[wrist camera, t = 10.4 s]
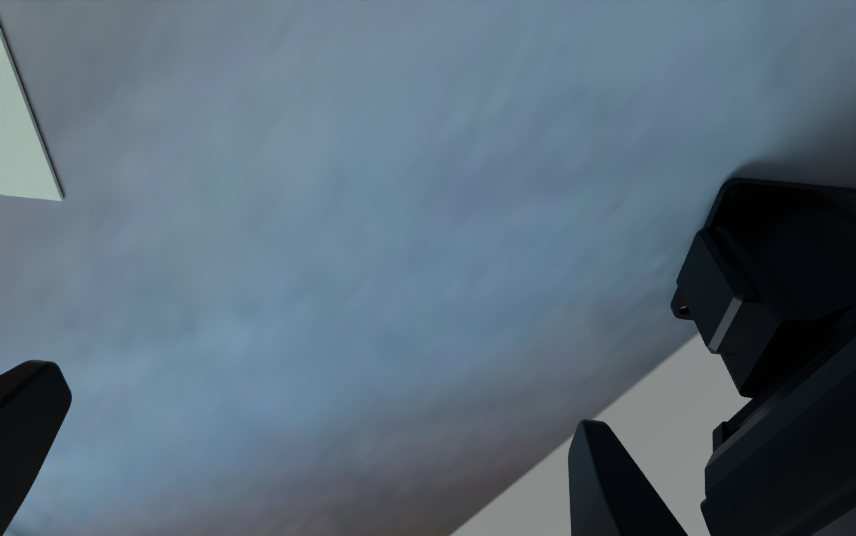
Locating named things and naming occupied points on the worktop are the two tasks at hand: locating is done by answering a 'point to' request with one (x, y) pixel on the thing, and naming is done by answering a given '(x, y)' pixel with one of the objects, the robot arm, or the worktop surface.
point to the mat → (21, 140)
